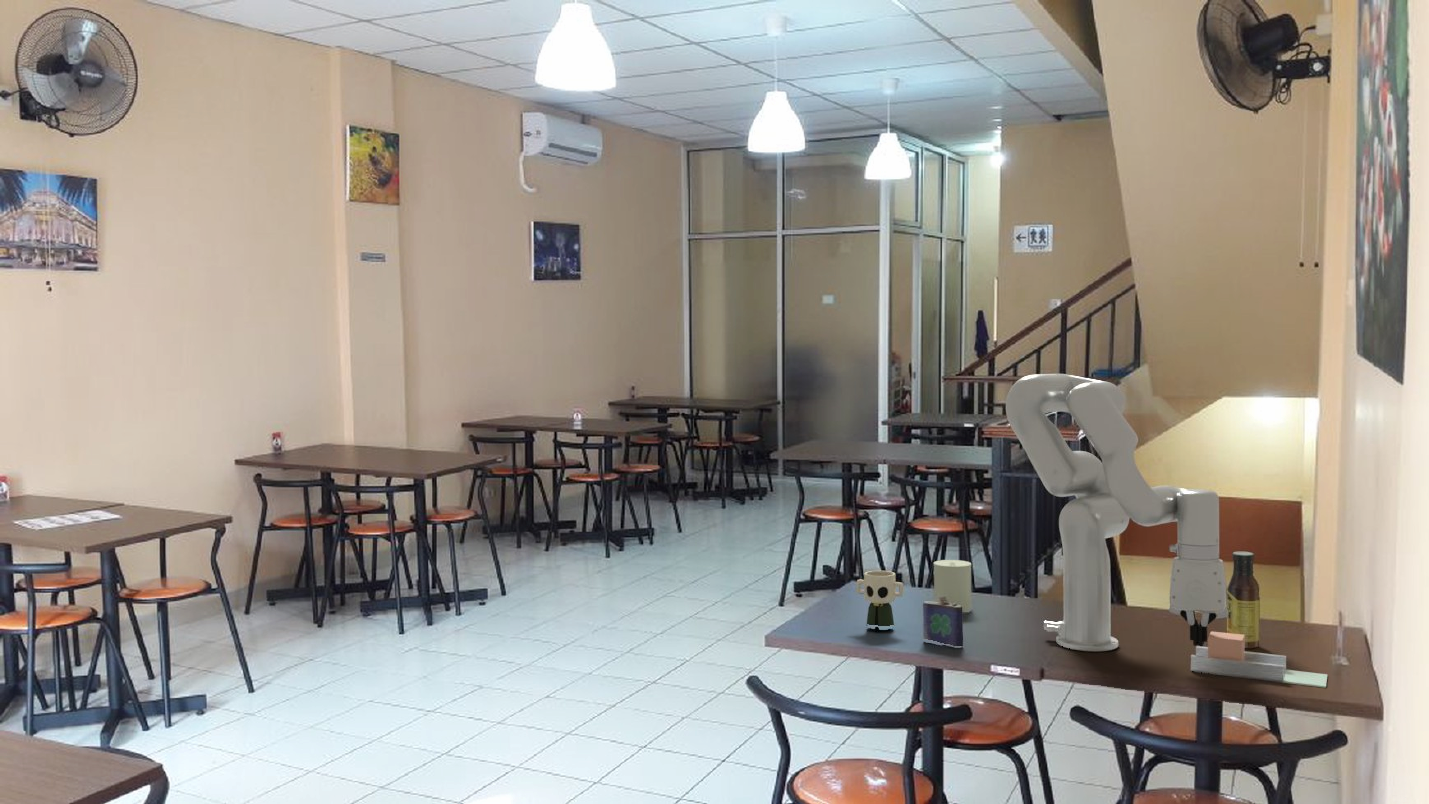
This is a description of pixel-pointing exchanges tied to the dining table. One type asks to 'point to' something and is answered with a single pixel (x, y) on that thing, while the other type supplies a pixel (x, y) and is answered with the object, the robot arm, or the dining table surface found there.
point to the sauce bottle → (1244, 600)
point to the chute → (1241, 665)
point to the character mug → (880, 596)
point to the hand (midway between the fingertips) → (1198, 644)
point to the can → (953, 582)
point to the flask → (943, 622)
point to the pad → (1305, 678)
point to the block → (1226, 645)
